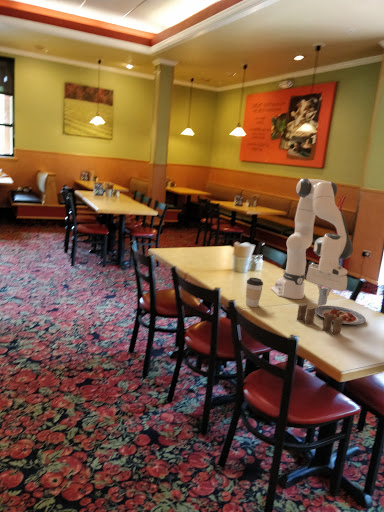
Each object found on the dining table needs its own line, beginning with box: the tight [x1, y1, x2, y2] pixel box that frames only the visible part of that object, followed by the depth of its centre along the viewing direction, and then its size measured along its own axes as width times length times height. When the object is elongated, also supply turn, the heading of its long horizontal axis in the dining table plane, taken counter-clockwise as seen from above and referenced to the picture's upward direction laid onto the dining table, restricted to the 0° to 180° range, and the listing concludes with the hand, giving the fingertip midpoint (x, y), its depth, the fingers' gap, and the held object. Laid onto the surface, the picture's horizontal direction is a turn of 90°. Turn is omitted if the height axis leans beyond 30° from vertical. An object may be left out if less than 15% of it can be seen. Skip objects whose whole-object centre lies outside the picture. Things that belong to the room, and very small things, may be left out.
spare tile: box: [317, 287, 328, 306], centre depth 204 cm, size 2×5×8 cm, turn 131°
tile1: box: [296, 303, 308, 322], centre depth 214 cm, size 2×5×8 cm, turn 131°
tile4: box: [322, 314, 334, 333], centre depth 203 cm, size 2×5×8 cm, turn 131°
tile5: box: [331, 317, 343, 336], centre depth 199 cm, size 2×5×8 cm, turn 131°
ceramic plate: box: [315, 305, 366, 325], centre depth 223 cm, size 26×26×3 cm
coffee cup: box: [245, 277, 264, 308], centre depth 228 cm, size 9×9×15 cm
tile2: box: [304, 306, 317, 325], centre depth 210 cm, size 2×5×8 cm, turn 131°
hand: (323, 294), depth 204 cm, fingers closed on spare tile, 2 cm apart
